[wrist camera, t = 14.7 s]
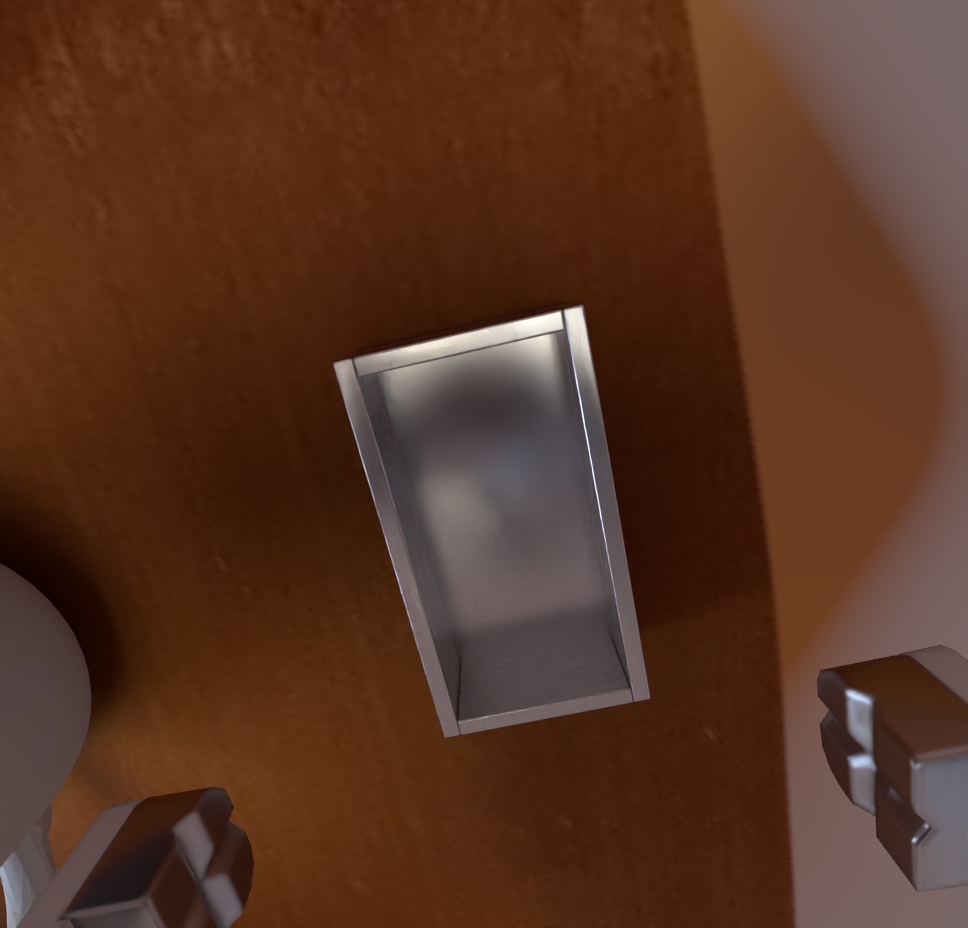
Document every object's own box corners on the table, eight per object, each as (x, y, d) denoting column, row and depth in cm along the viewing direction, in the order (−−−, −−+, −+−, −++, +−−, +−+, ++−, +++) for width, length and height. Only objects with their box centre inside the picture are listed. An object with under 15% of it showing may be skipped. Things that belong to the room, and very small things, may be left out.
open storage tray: (625, 638, 19) (651, 699, 16) (449, 672, 19) (443, 739, 16) (565, 302, 16) (584, 303, 13) (357, 349, 16) (331, 362, 13)
